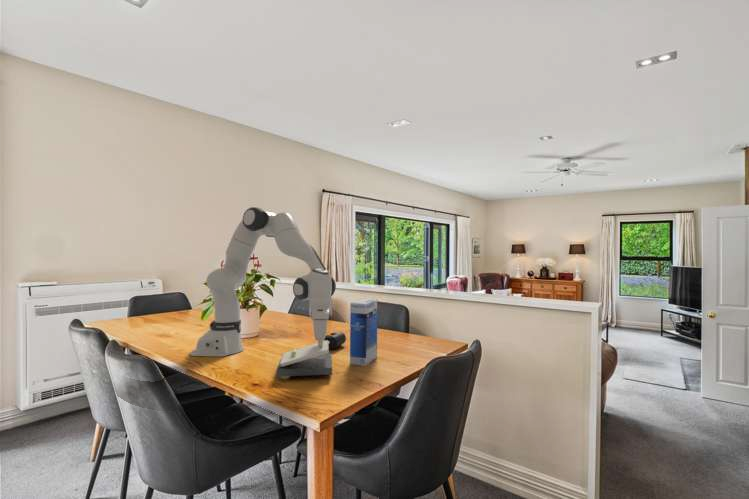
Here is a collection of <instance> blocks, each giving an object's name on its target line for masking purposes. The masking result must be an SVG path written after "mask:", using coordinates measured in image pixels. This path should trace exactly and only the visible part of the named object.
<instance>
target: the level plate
mask: <svg viewBox="0 0 749 499" xmlns="http://www.w3.org/2000/svg"><path fill="white" fill-rule="evenodd" d="M323 354H330V350H329V341H328V340H327V341H325V340H323V346H322V347H318V342H316V343H313V344H310V345H307V346H303V347H301V348H296V347H295V348H293V349H292V350H290V351H289V350H288V351H287V352H283V353H282V354H281V358H280V359H281V360H279V362H278V364H279V365H277V367H283V366H286V365H289V364H293V363H296V362H299V361H303V360H306V359H309V358H313V357H316V356H320V355H323Z"/></svg>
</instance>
